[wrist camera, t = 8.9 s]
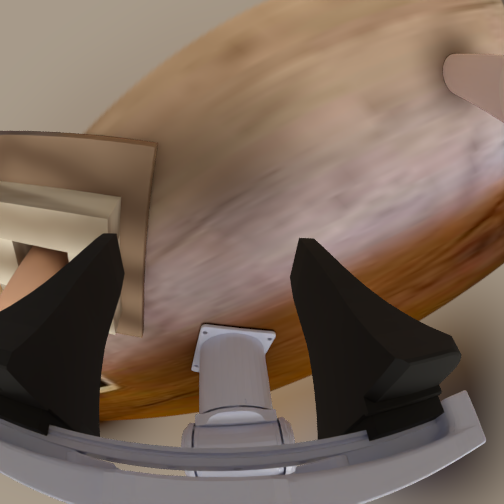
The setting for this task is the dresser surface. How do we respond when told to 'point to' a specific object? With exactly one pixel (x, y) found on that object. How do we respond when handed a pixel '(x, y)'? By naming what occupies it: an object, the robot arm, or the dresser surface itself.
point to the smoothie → (477, 80)
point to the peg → (32, 273)
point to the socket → (77, 204)
